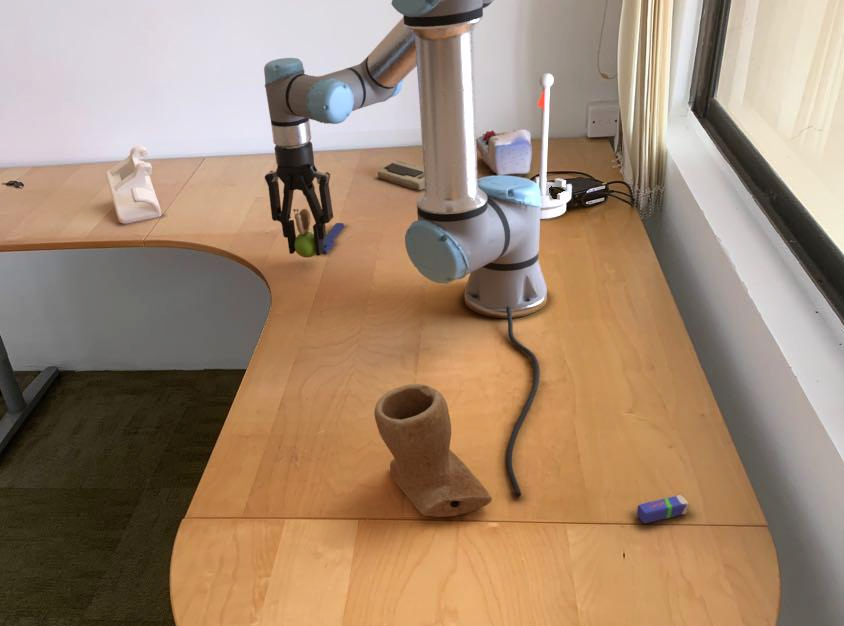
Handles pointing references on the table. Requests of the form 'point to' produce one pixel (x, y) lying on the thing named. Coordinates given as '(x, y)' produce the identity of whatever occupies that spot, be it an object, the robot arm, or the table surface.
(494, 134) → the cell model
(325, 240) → the fork
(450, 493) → the clay pipe
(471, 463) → the table surface
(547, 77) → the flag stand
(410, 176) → the computer
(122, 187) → the white angular piece
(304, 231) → the snail figurine
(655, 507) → the eraser
